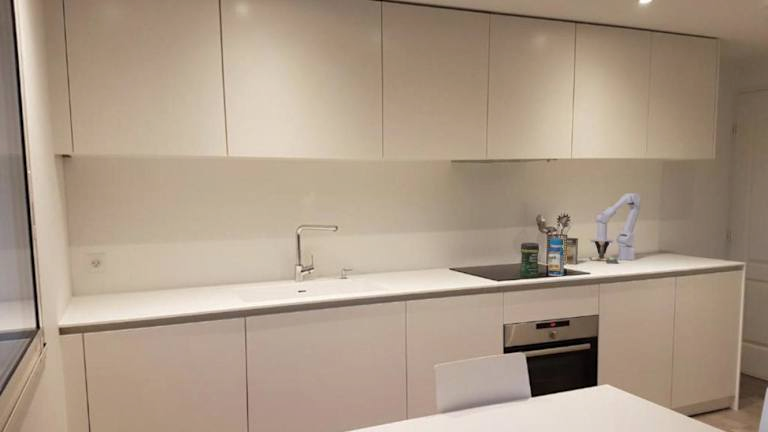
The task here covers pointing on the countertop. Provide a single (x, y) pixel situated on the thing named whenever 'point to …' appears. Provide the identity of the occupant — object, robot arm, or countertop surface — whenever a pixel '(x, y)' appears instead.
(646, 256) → the countertop surface
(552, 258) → the blue labeled canister
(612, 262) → the button housing
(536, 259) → the coffee jar
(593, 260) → the board
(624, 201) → the robot arm
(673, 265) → the countertop surface
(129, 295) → the countertop surface
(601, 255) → the marker
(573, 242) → the coffee box
